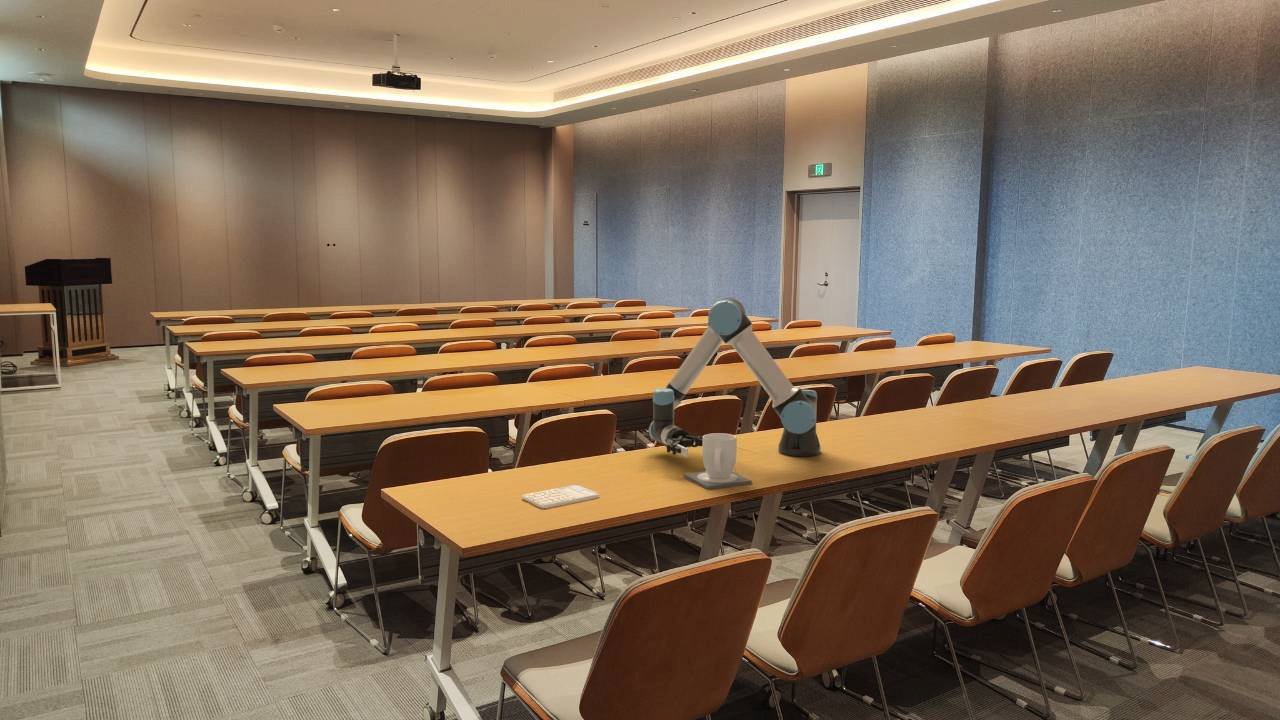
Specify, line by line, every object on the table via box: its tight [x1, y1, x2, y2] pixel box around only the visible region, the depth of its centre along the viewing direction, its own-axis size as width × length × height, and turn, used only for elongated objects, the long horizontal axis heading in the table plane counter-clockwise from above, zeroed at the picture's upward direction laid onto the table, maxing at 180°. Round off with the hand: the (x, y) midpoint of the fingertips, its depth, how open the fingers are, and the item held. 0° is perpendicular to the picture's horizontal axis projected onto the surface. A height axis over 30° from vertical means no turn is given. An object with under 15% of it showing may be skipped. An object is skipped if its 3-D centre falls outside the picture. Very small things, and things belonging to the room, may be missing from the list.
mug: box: [701, 432, 738, 479], centre depth 274 cm, size 15×11×13 cm
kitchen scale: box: [683, 470, 753, 490], centre depth 277 cm, size 16×16×1 cm
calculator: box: [521, 484, 600, 509], centre depth 258 cm, size 13×20×2 cm, turn 126°
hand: (705, 450), depth 283 cm, fingers open, 13 cm apart
